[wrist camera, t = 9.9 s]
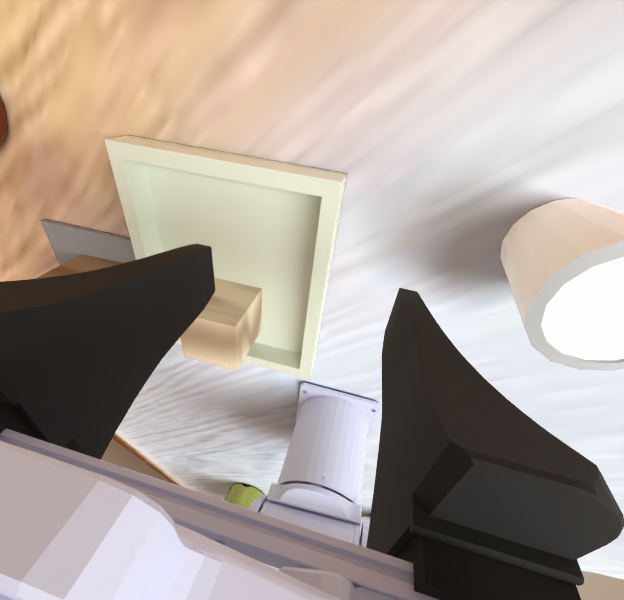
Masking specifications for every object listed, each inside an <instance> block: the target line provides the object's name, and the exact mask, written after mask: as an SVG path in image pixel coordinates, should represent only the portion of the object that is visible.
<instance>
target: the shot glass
mask: <svg viewBox="0 0 624 600" xmlns="http://www.w3.org/2000/svg"><path fill="white" fill-rule="evenodd" d="M500 258H501V261H502V264H503V267H504V270H505V273H506V275H507V278H508V281H509V284H510V287H511V290H512V293H513V296H514V298H515V301H516V304H517V307H518V310H519V313H520V316H521V319H522V321H523V324H524V327H525V330H526V332H527V335H528V337H529V340H530V342H531V345H532V346H533V347H534V348H535V349H536V350H538V351H539V352H540V353H541V354H543V355H544V356H545V357H547V358H548V359H549V360H550V361H553V362H556V363H560V364H563V365H566V366H569V367H573V368H576V369H583V370H613V371H614V370H619V369H624V213H623V212H621V211H618V210H615V209H612V208H609V207H607V206H604V205H601V204H598V203H595V202H591V201H587V200H583V199H579V198H572V199H563V200H554V201H551V202H549V203H546V204H544V205H542V206H539V207H537V208H534V209H532V210H530V211H529V212H528V213H526V214H525V215H524V216H523V217H522V218H520V219H519V220H518V221H517V222H515V223H514V224H513V225H512V227H511V228H510V230H509V232H508V233H507V235H506V236H505V238H504V239H503V241H502V248H501V254H500Z"/></svg>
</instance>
